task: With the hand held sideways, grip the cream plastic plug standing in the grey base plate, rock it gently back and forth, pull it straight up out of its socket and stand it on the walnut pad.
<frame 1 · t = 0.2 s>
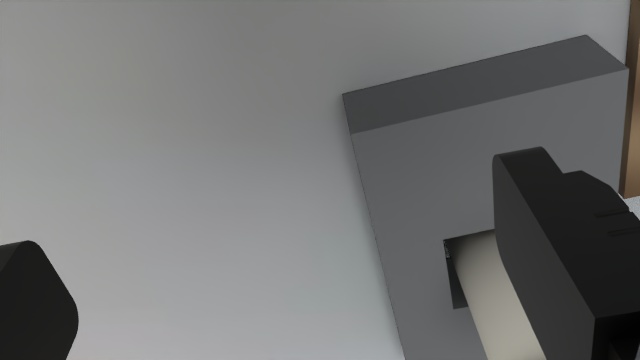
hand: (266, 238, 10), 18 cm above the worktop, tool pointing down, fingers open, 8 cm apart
grey base plate: (477, 218, 33), on the worktop
plug: (518, 308, 27), in the grey base plate
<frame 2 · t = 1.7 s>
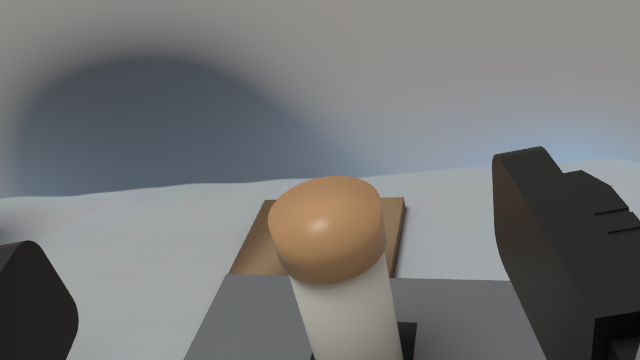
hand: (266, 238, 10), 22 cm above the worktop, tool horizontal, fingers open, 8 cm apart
pad: (320, 248, 43), on the worktop
plug: (350, 321, 27), in the grey base plate
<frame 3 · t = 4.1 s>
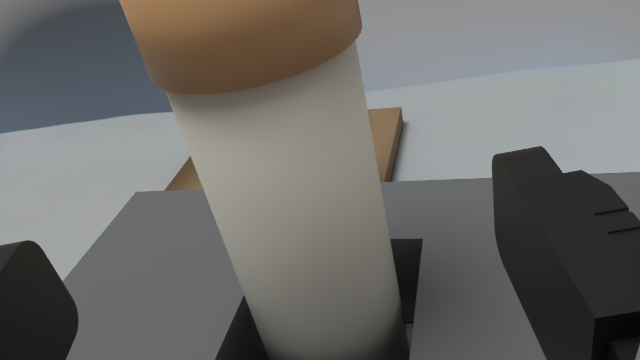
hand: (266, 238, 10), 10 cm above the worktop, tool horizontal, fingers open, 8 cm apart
pad: (285, 173, 31), on the worktop
plug: (303, 220, 15), in the grey base plate
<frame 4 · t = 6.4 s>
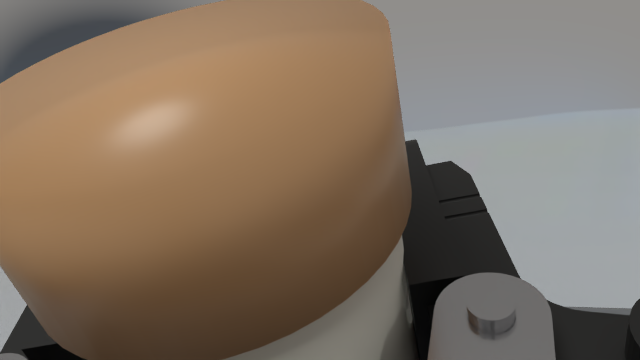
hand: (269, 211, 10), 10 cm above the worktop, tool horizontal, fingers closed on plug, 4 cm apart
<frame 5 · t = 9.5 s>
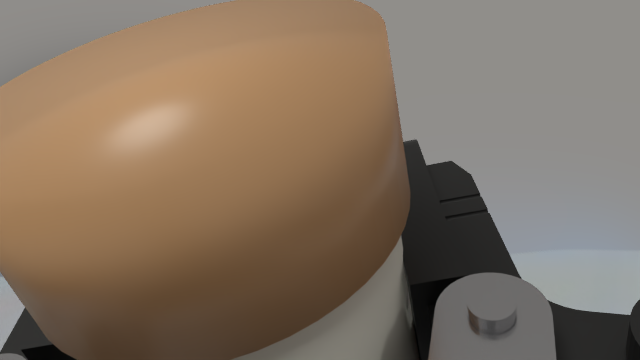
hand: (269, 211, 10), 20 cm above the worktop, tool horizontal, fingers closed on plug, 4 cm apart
when the fingers open (12 cm above the worktop, at t = 12.6 s): plug drops 1 cm, resting on pad.
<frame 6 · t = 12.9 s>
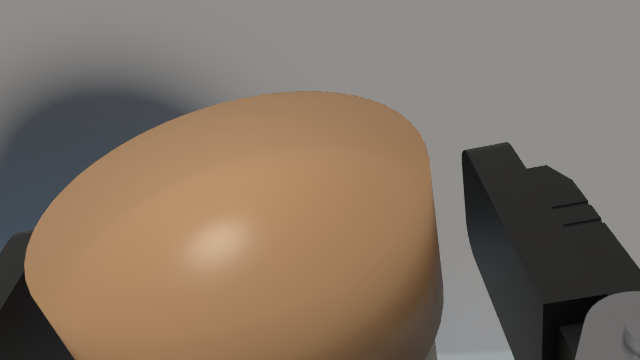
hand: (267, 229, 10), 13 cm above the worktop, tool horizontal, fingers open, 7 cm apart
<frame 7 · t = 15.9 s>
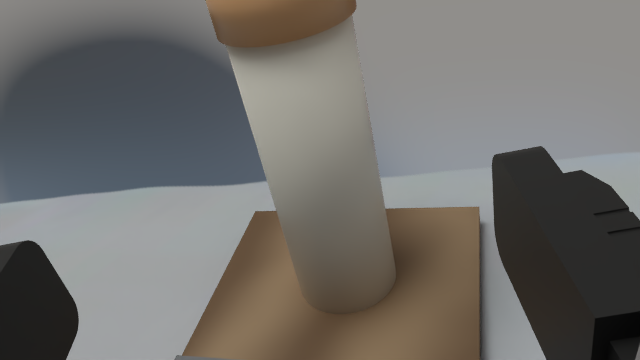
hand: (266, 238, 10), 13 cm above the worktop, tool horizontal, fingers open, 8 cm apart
pad: (345, 292, 26), on the worktop
plug: (316, 145, 21), on the pad, point 8 cm above the worktop
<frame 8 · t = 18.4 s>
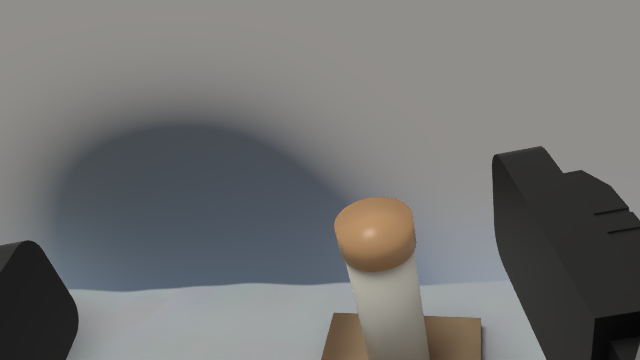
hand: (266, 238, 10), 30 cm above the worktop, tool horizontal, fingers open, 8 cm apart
plug: (388, 300, 38), on the pad, point 8 cm above the worktop
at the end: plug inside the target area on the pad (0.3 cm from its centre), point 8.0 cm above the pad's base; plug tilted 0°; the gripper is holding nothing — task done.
